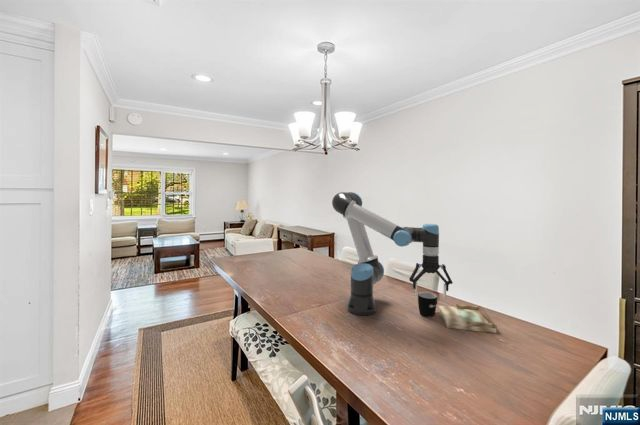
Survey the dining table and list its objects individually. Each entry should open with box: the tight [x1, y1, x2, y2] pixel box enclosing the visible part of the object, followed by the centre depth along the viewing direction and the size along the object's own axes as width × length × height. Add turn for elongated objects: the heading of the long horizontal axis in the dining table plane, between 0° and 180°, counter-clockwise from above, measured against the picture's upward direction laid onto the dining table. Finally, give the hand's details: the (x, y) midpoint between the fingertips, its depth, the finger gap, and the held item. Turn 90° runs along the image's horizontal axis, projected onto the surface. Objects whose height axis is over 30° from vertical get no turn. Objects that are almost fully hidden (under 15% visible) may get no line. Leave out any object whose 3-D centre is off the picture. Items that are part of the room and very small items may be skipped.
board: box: [438, 304, 498, 334], centre depth 132 cm, size 20×21×4 cm
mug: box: [417, 291, 438, 318], centre depth 139 cm, size 12×9×10 cm
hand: (430, 296), depth 138 cm, fingers open, 13 cm apart
